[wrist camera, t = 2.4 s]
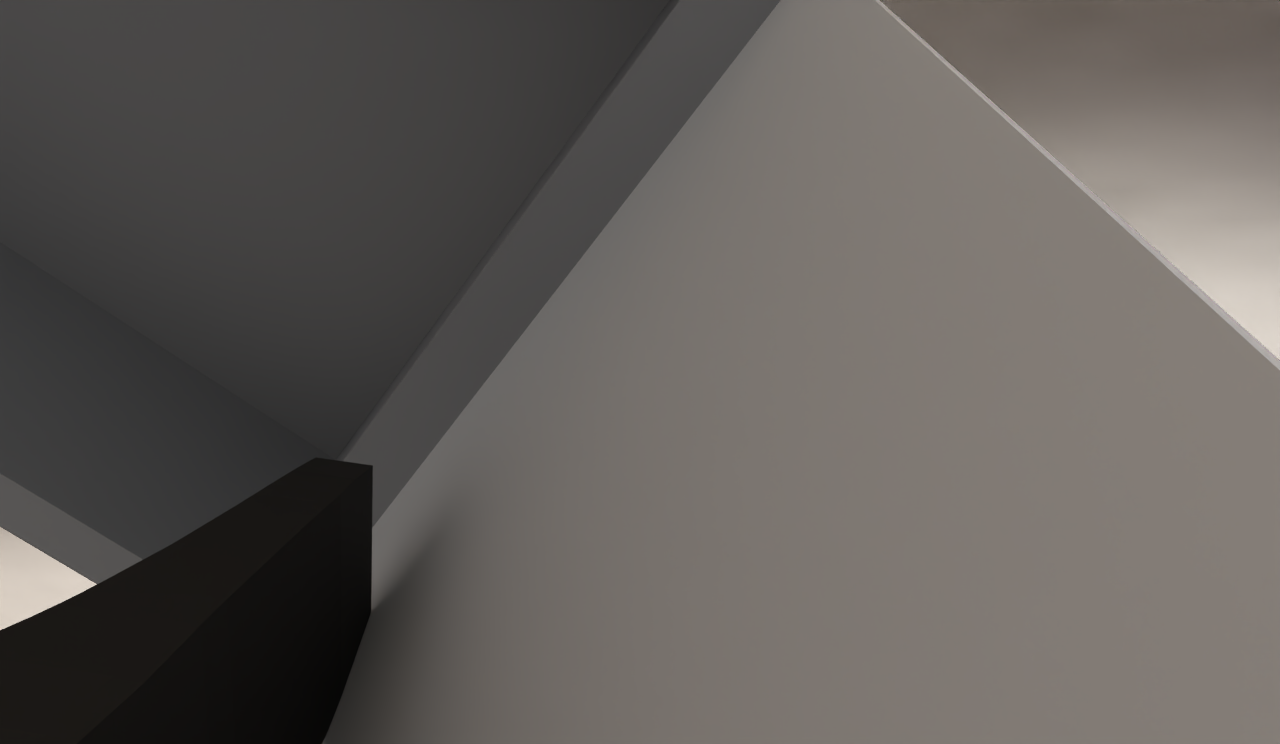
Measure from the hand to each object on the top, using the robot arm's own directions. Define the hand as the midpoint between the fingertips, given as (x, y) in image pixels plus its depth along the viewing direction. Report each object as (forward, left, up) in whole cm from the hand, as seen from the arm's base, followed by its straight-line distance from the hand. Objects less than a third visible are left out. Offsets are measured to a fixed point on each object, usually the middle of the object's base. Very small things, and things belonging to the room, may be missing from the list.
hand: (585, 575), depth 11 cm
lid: (+1, 0, +5) cm, 5 cm away
